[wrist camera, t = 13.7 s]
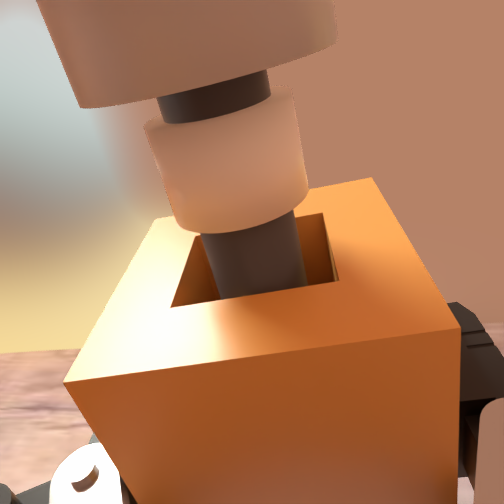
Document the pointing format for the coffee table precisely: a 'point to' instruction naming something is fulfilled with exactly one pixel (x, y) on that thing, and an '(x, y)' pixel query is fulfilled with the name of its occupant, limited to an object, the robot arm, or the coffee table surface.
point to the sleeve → (280, 370)
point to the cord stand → (208, 114)
